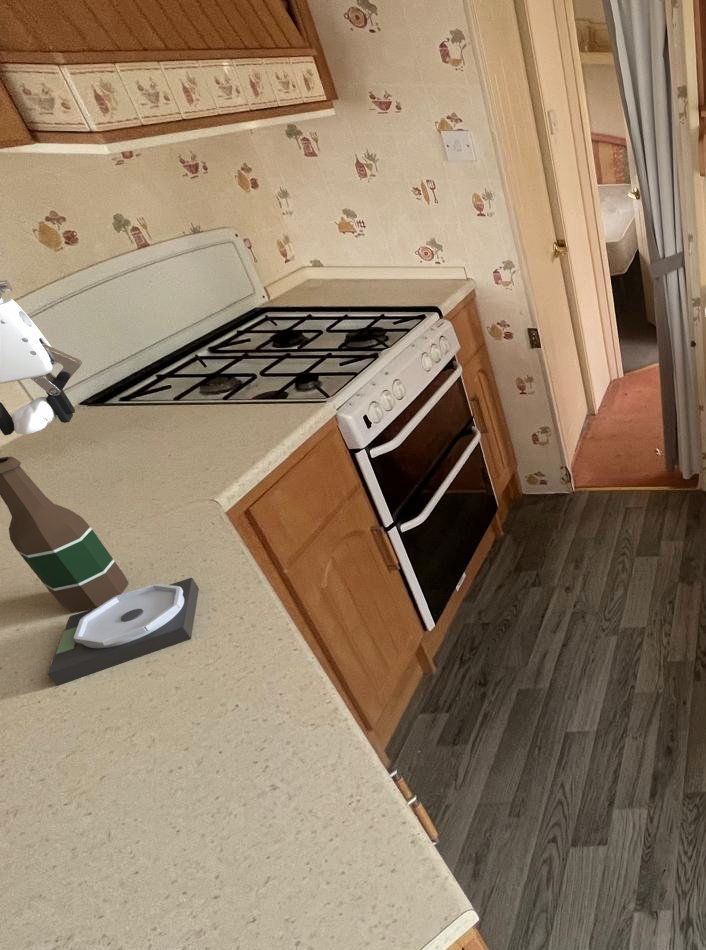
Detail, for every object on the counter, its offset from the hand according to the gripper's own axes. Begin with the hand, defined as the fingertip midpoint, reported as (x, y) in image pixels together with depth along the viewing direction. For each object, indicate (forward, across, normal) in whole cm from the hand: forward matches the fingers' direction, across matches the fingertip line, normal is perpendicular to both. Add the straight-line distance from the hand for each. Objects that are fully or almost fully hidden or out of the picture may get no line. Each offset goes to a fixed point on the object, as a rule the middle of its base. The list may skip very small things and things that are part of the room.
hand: (39, 424), depth 94 cm
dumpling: (+1, 0, 0) cm, 1 cm away
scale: (+27, -1, +17) cm, 32 cm away
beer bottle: (+27, +5, +3) cm, 28 cm away
